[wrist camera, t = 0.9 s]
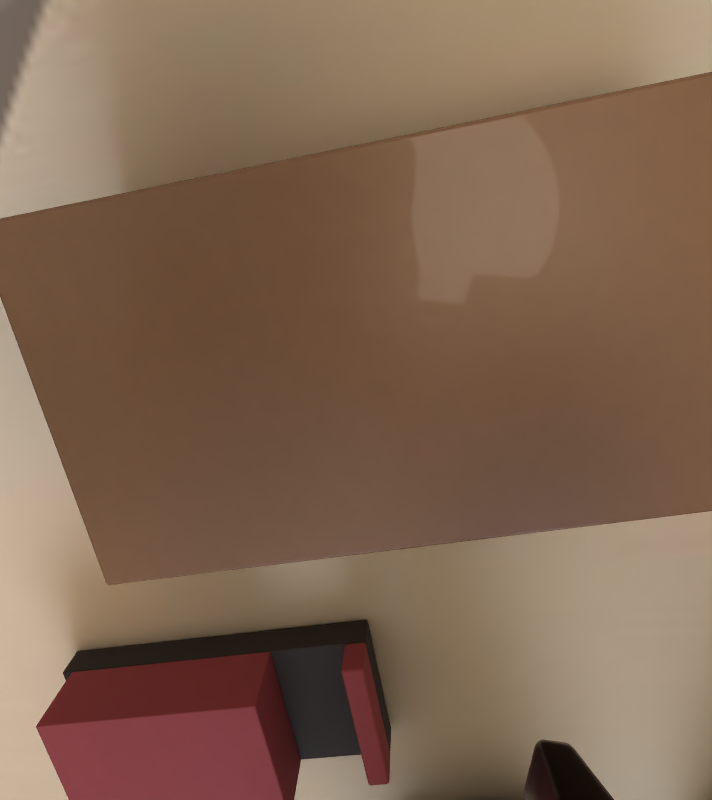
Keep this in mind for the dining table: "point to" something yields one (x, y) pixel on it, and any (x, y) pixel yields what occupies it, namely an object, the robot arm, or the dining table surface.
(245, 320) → the shoebox
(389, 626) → the dining table surface
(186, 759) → the dark red two-tone block
